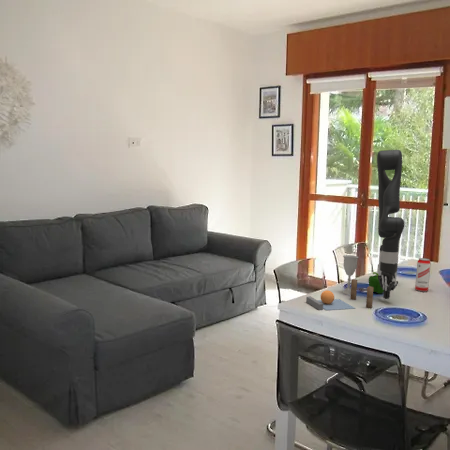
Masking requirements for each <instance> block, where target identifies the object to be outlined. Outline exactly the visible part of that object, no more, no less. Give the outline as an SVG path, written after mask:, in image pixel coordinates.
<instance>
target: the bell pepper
mask: <svg viewBox="0 0 450 450" xmlns="http://www.w3.org/2000/svg"><path fill="white" fill-rule="evenodd" d="M378 276H379V275H378V273H377V271H376V272H375V271H373V272H372V275H370V276H369V277H368V287H369V286H370V287H374V289H373V292H377V293H376V294H383V292H384V290H383V288H381V286H380V283H379V280H378Z"/></svg>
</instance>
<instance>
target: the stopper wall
mask: <svg viewBox="0 0 450 450" xmlns="http://www.w3.org/2000/svg"><path fill="white" fill-rule="evenodd" d="M305 303H307V304H308V305H310V306H311V307H313V308H315V309H317V310H318V311H323V310H324V309H323V304H322V303H321V302H319V301H317V299H315V298H314V297H312V296H306V299H305Z"/></svg>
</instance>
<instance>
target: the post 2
mask: <svg viewBox="0 0 450 450" xmlns="http://www.w3.org/2000/svg"><path fill="white" fill-rule="evenodd" d="M373 289H374V287H370V286H369V285H368V286H367V289H366V298H365V299H366V300H365V304H366V305H365V308H367V309H372V308H373V303H374V302H373V300H374V293H373Z"/></svg>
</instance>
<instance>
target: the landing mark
mask: <svg viewBox="0 0 450 450" xmlns="http://www.w3.org/2000/svg"><path fill="white" fill-rule="evenodd" d="M316 300H317V299H316ZM317 301H319V302H321V303H322V304H323V310H324V311H337V310H353V309H356V307H354V306H353V305H350V304H349V303H347V302H345V301H344V300H342V299H341V298H340V299H339V298H336V299H335V298H334V301H333V302H332V303H330V304H325V303H323V302H322V300H321V299H319V300H317Z"/></svg>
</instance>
